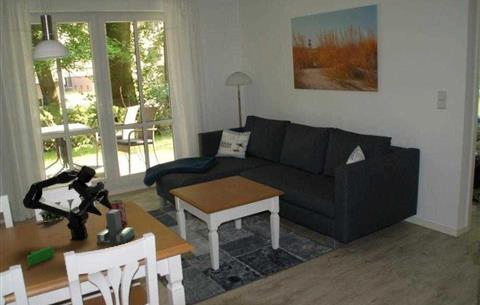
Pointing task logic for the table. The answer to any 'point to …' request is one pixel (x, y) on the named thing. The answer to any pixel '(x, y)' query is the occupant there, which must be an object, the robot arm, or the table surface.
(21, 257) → the table surface
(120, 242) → the striped teal board
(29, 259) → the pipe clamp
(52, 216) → the frog figurine
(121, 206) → the beverage can
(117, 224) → the steel bar
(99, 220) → the table surface
